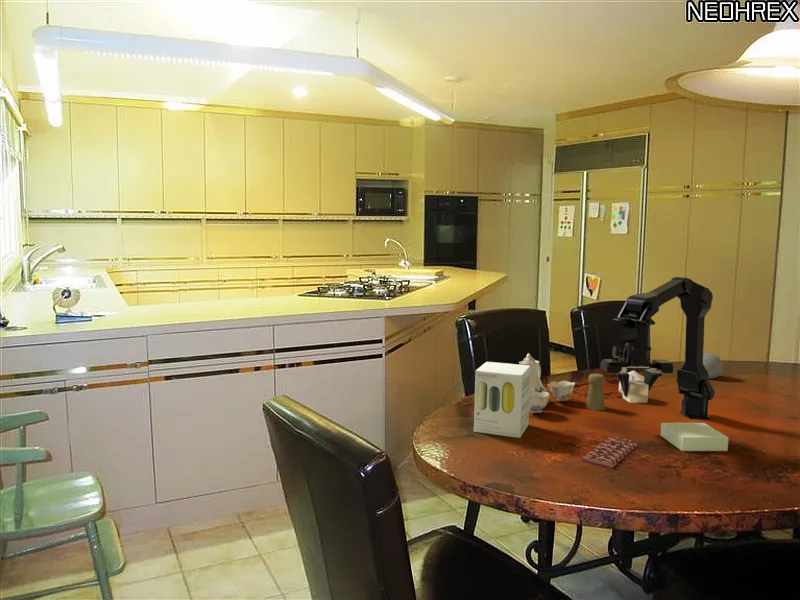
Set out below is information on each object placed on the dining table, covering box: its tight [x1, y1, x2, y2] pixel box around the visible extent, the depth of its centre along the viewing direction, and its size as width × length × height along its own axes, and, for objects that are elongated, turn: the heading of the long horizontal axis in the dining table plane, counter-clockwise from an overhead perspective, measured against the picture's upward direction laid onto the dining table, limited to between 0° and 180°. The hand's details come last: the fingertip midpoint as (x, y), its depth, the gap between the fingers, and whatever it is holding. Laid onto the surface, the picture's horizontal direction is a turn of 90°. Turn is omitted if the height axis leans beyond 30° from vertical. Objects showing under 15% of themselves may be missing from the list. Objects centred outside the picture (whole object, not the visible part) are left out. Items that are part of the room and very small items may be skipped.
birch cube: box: [621, 380, 649, 404], centre depth 175 cm, size 5×5×5 cm
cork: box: [584, 373, 606, 411], centre depth 197 cm, size 6×6×11 cm
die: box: [618, 370, 644, 395], centre depth 208 cm, size 8×9×10 cm
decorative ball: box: [703, 352, 724, 380], centre depth 239 cm, size 10×10×10 cm
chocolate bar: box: [582, 436, 637, 469], centre depth 158 cm, size 7×19×2 cm, turn 142°
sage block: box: [660, 422, 729, 452], centre depth 166 cm, size 12×12×4 cm
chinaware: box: [518, 352, 576, 414], centre depth 198 cm, size 28×17×17 cm, turn 145°
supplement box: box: [473, 361, 531, 439], centre depth 175 cm, size 13×13×18 cm
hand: (634, 396), depth 175 cm, fingers closed on birch cube, 5 cm apart
